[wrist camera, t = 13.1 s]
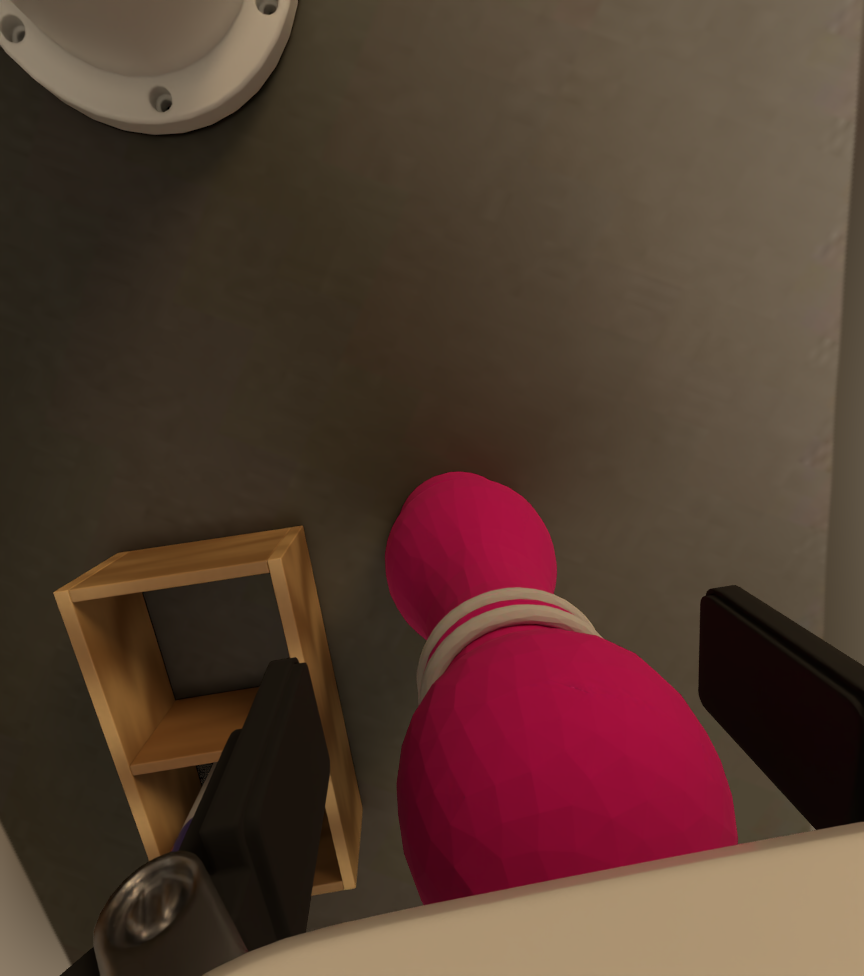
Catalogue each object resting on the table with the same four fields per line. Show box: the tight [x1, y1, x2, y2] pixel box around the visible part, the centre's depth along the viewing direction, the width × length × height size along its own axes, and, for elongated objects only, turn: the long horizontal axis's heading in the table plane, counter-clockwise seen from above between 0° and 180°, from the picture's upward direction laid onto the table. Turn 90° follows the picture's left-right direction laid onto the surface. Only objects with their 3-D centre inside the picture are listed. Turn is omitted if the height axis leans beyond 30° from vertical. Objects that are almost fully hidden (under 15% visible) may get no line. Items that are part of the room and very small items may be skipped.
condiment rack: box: [54, 526, 363, 896], centre depth 23 cm, size 18×9×4 cm, turn 7°
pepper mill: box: [385, 472, 738, 905], centre depth 15 cm, size 7×7×20 cm
